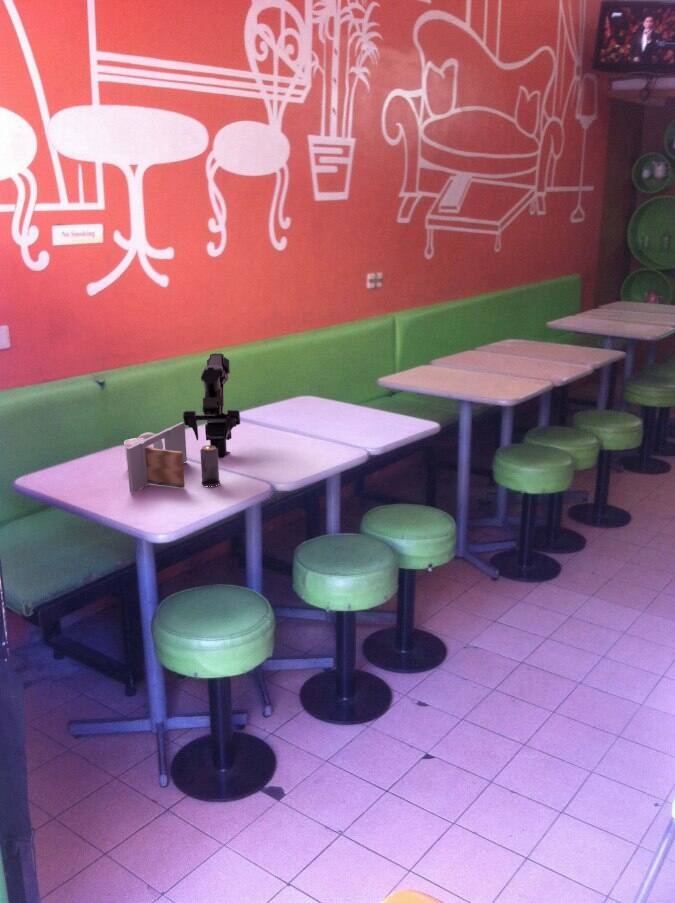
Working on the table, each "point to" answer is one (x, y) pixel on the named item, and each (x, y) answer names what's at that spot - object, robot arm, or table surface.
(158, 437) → the wall frame
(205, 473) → the dark metallic tumbler
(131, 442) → the white cup
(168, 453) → the door
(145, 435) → the donut
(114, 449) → the table surface
